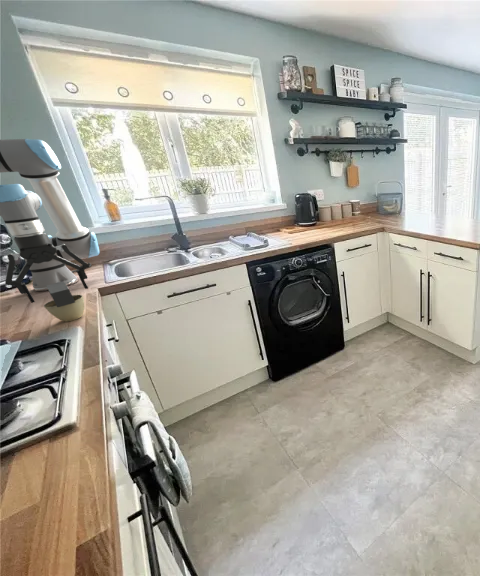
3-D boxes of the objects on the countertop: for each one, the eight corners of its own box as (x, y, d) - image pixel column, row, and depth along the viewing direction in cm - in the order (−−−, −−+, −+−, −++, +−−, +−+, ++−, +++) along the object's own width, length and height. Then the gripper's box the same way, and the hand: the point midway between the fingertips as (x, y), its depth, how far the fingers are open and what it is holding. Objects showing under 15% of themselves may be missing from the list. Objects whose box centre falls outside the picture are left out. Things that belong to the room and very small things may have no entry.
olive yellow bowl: (53, 319, 111) (44, 301, 108) (90, 309, 117) (81, 292, 115) (53, 328, 104) (42, 309, 102) (91, 317, 111) (83, 299, 108)
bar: (53, 298, 111) (46, 285, 109) (70, 293, 114) (63, 281, 112) (57, 307, 102) (50, 293, 100) (75, 302, 105) (68, 289, 104)
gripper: (-32, 245, 88) (7, 311, 97) (82, 227, 106) (108, 284, 114) (-31, 242, 93) (7, 305, 101) (79, 226, 110) (103, 280, 118)
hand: (60, 294), depth 108 cm, fingers open, 13 cm apart
